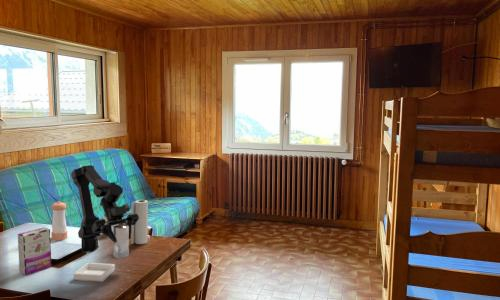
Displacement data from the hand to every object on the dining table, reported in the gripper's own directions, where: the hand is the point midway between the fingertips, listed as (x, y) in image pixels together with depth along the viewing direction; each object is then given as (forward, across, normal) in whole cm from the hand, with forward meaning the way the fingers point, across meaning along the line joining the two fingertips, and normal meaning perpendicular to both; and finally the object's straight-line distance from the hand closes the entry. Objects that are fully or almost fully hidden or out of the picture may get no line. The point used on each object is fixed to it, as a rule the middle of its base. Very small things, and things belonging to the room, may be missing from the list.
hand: (122, 240), depth 163 cm
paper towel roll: (-10, +23, +29) cm, 38 cm away
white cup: (-25, +18, +45) cm, 55 cm away
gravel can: (+4, 0, +6) cm, 7 cm away
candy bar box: (-8, -26, +27) cm, 38 cm away
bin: (+7, -10, +12) cm, 17 cm away
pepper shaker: (-31, -5, +51) cm, 60 cm away
